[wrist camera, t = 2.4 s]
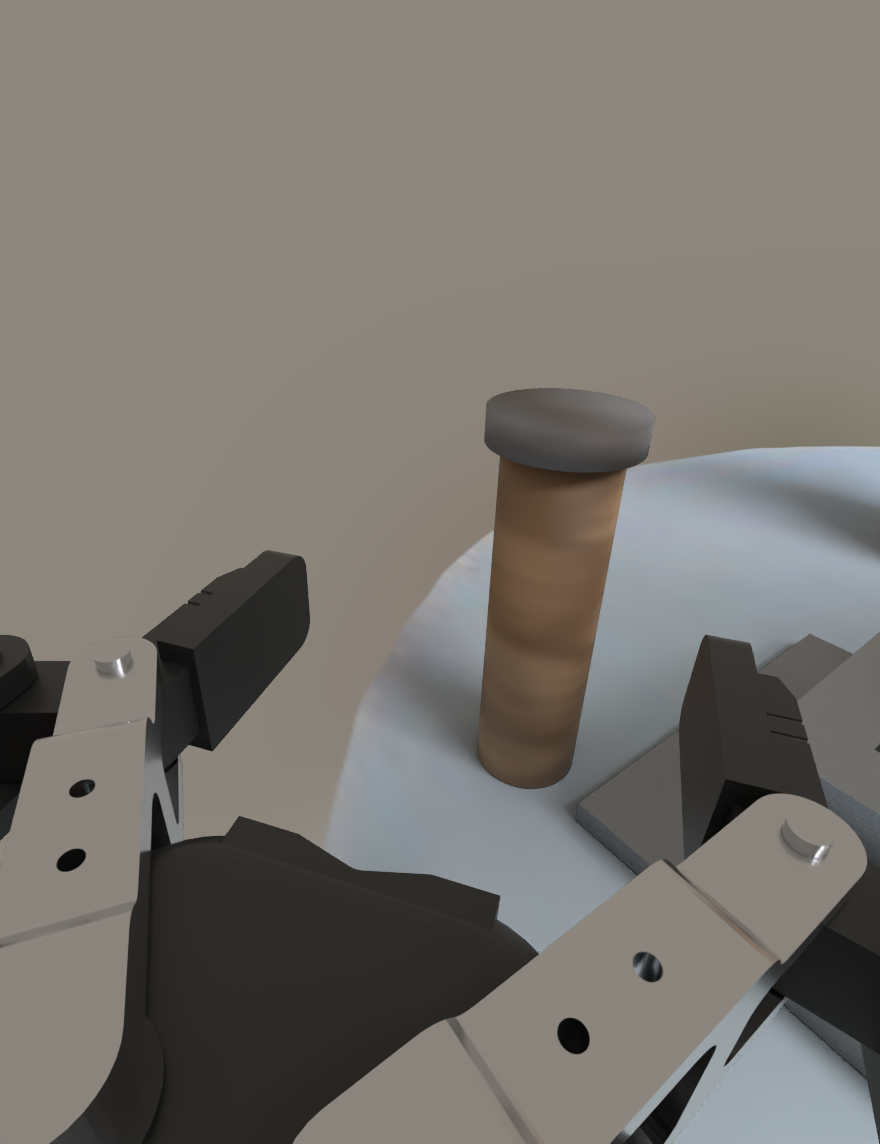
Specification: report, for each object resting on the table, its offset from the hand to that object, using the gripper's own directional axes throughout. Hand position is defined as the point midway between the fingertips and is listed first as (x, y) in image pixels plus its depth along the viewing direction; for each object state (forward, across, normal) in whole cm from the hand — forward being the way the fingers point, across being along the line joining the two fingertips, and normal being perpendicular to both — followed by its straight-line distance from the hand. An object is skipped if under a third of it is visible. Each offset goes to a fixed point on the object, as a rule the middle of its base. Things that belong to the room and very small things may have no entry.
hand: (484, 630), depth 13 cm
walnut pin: (+12, 0, +14) cm, 18 cm away
